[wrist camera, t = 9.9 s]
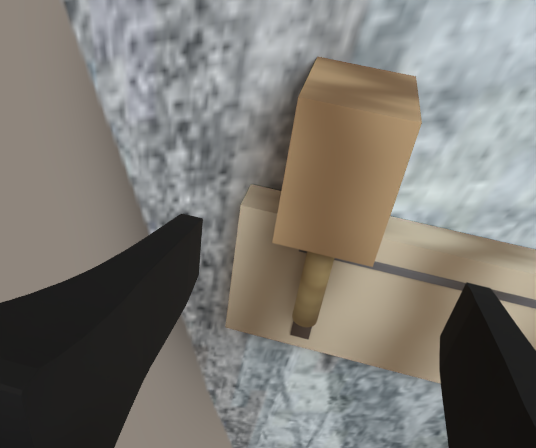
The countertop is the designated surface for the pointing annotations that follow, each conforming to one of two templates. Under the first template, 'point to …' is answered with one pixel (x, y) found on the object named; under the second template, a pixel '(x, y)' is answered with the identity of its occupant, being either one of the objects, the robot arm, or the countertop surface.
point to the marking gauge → (344, 170)
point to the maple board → (374, 289)
